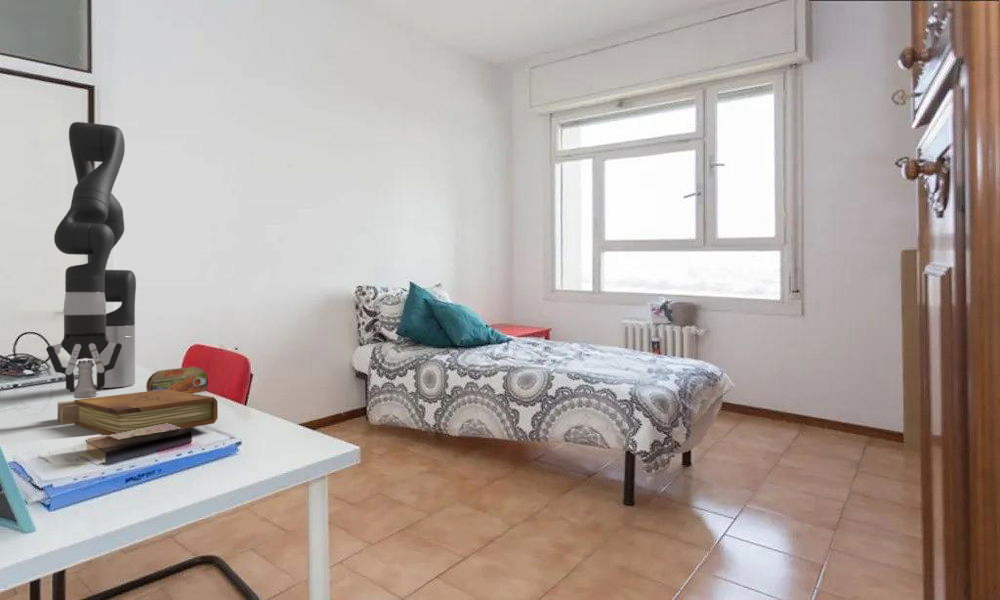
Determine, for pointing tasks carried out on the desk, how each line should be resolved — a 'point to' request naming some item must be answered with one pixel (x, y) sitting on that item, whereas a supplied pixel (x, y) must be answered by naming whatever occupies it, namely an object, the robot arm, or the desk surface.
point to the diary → (145, 411)
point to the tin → (179, 380)
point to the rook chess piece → (85, 381)
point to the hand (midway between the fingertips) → (85, 390)
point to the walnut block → (68, 412)
